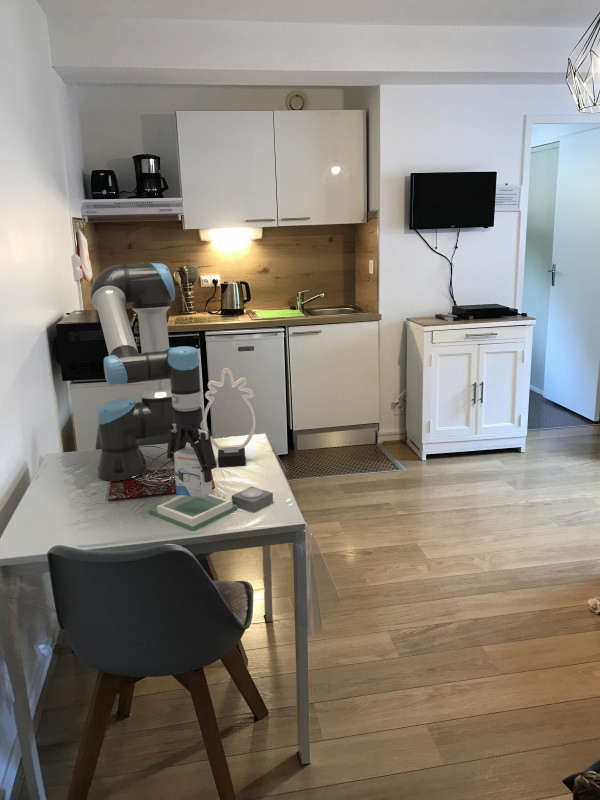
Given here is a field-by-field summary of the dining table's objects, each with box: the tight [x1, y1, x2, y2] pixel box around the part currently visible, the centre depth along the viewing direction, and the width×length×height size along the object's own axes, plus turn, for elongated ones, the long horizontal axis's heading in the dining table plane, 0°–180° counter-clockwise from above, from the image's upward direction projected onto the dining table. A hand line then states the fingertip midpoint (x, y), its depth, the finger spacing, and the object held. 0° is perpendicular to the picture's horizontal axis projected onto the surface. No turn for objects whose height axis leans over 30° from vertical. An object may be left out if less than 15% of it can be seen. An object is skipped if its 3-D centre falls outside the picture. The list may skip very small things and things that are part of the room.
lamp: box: [202, 367, 257, 469], centre depth 209 cm, size 17×9×32 cm, turn 96°
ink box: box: [174, 446, 213, 497], centre depth 171 cm, size 9×5×12 cm, turn 73°
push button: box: [231, 486, 274, 514], centre depth 179 cm, size 8×8×4 cm
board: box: [147, 492, 238, 532], centre depth 175 cm, size 18×16×3 cm
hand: (193, 488), depth 172 cm, fingers closed on ink box, 9 cm apart
